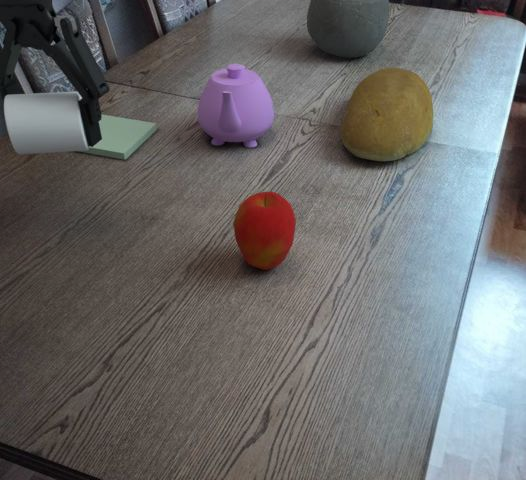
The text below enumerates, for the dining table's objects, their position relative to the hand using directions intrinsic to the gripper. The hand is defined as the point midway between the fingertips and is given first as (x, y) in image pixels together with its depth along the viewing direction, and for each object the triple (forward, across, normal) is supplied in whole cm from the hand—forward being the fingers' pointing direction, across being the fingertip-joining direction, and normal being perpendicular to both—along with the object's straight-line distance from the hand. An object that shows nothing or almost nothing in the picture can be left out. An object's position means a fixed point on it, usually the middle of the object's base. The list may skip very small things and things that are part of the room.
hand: (58, 135), depth 83 cm
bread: (+14, -43, -50) cm, 68 cm away
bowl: (+14, -24, -93) cm, 98 cm away
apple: (+14, -34, +2) cm, 36 cm away
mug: (+1, +1, 0) cm, 2 cm away
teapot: (+14, -14, -36) cm, 42 cm away
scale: (+14, +10, -27) cm, 33 cm away
